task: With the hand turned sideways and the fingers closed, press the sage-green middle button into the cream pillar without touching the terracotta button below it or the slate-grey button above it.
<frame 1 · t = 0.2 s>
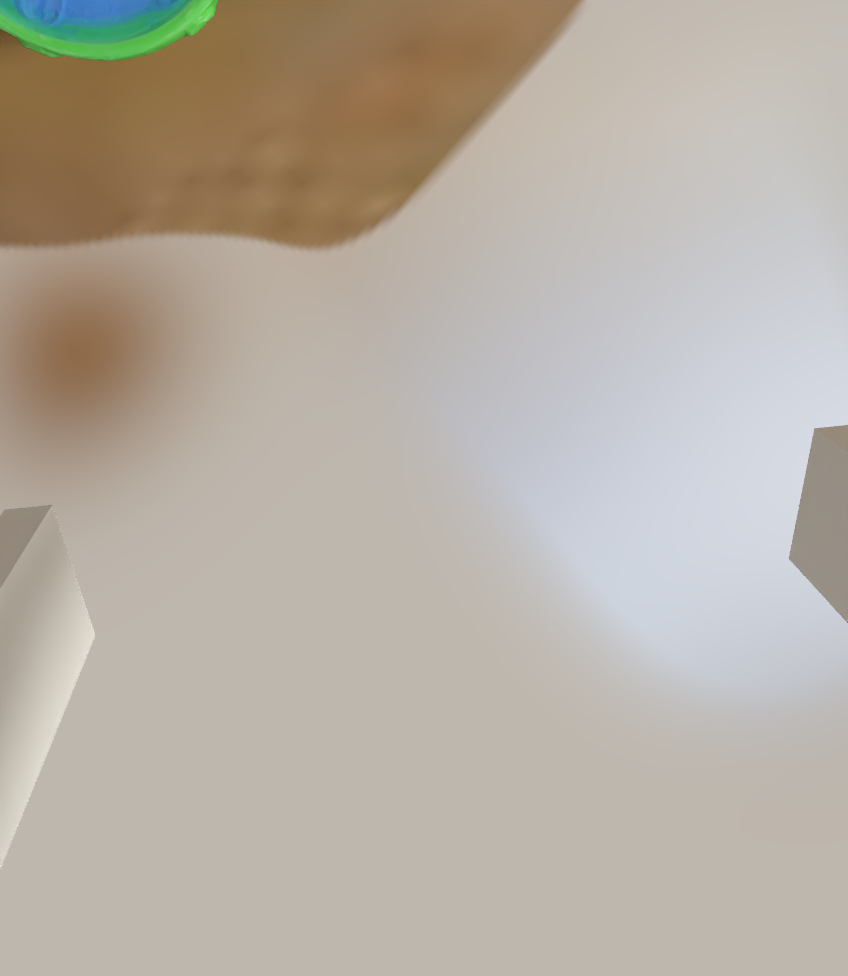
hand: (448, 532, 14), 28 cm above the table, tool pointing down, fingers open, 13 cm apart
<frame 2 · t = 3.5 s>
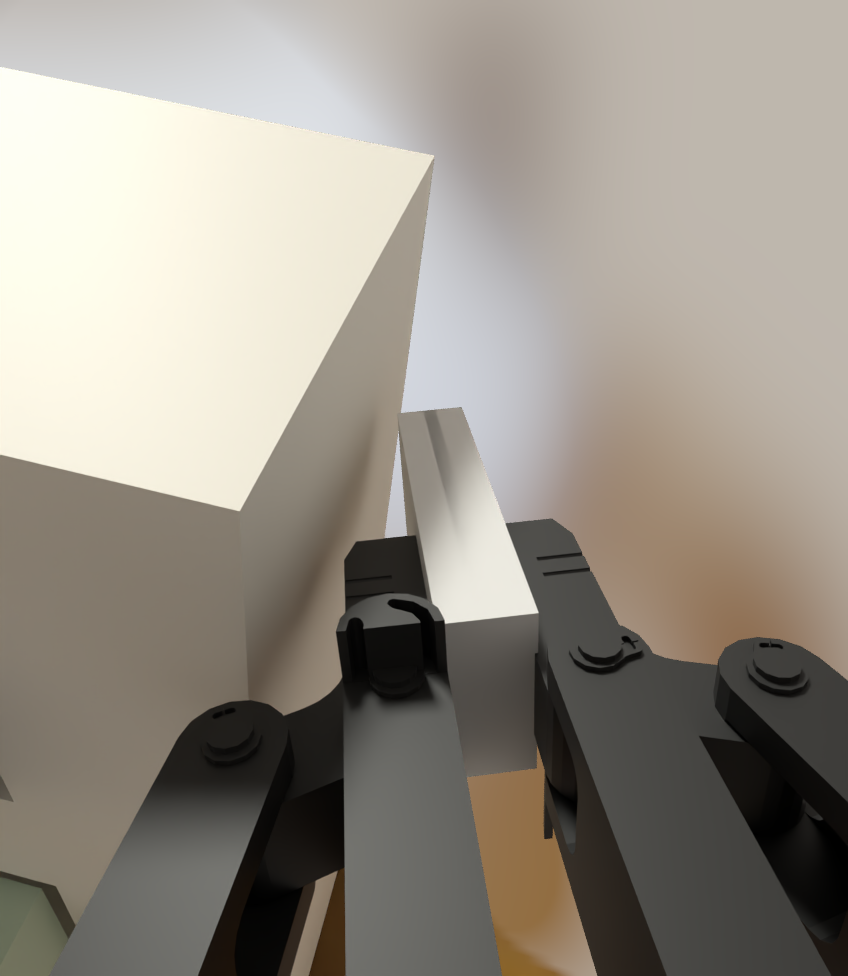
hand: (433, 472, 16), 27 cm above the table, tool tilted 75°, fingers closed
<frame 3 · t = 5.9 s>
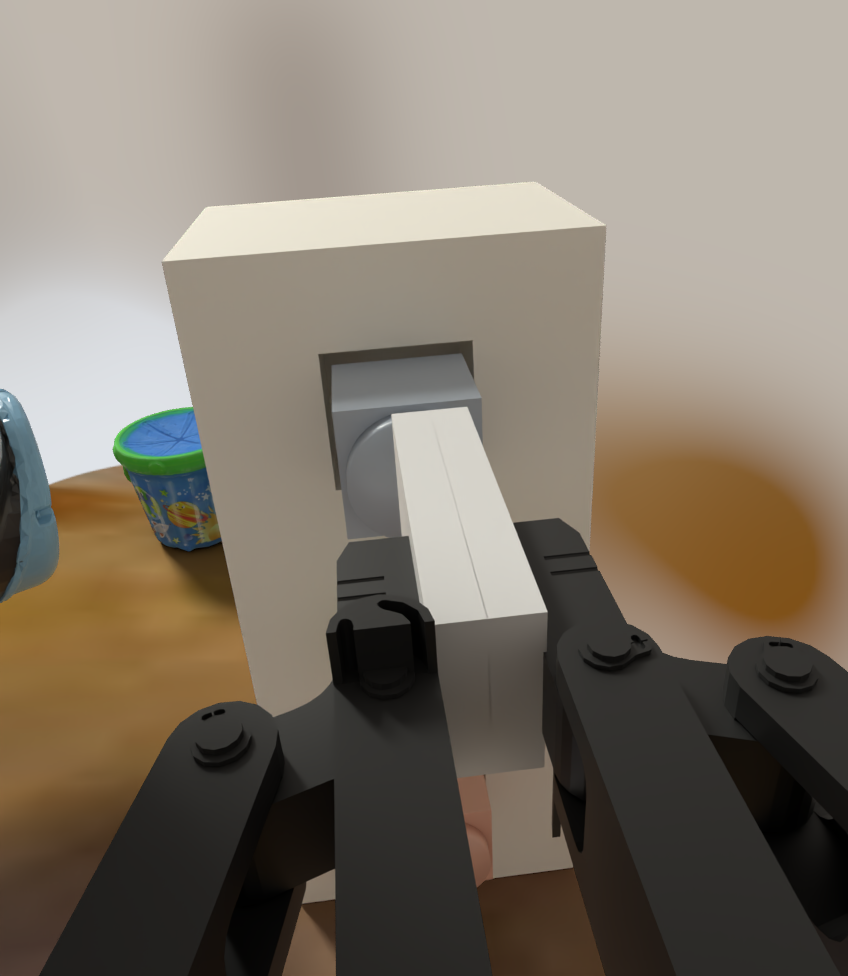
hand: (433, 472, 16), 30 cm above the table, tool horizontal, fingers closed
button pillar: (438, 885, 40), on the table
slate button: (407, 448, 26), point 26 cm above the table, slide at -0.1 cm
terracotta button: (435, 820, 34), point 8 cm above the table, slide at 0.0 cm
snack cup: (201, 533, 72), on the table
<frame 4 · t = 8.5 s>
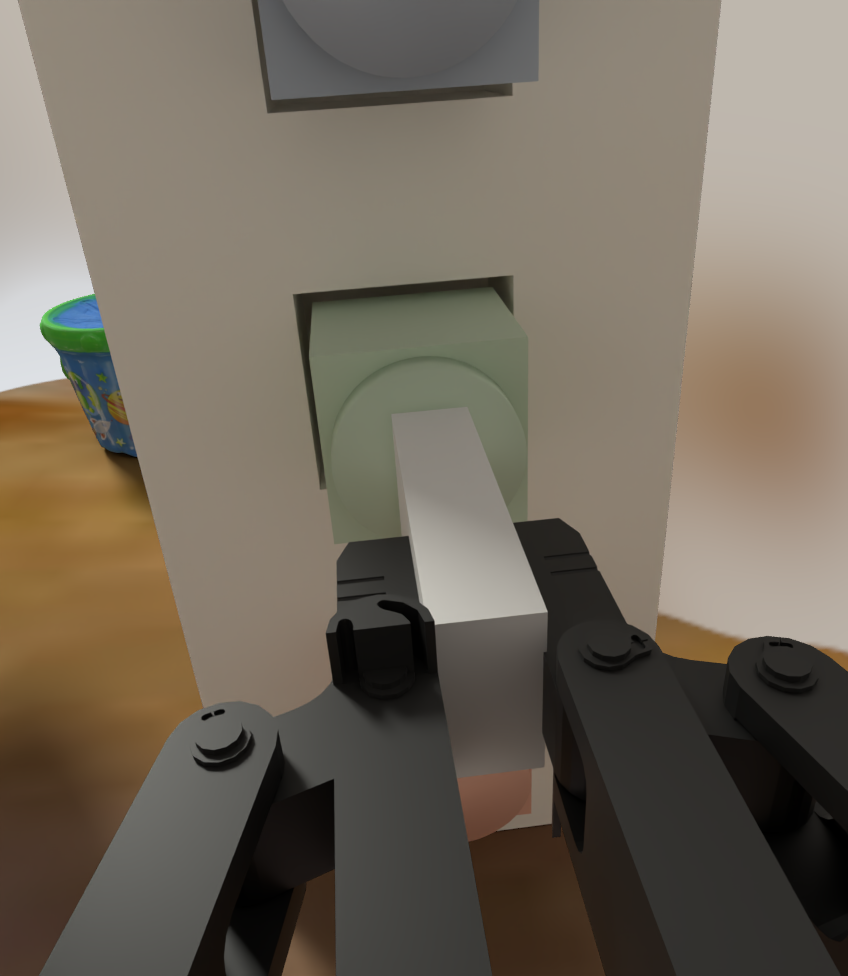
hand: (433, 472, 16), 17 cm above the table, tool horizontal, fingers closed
button pillar: (443, 837, 28), on the table
terracotta button: (441, 722, 22), point 8 cm above the table, slide at 0.0 cm
sage button: (418, 416, 18), point 17 cm above the table, slide at 0.6 cm, touching gripper
snack cup: (154, 440, 60), on the table
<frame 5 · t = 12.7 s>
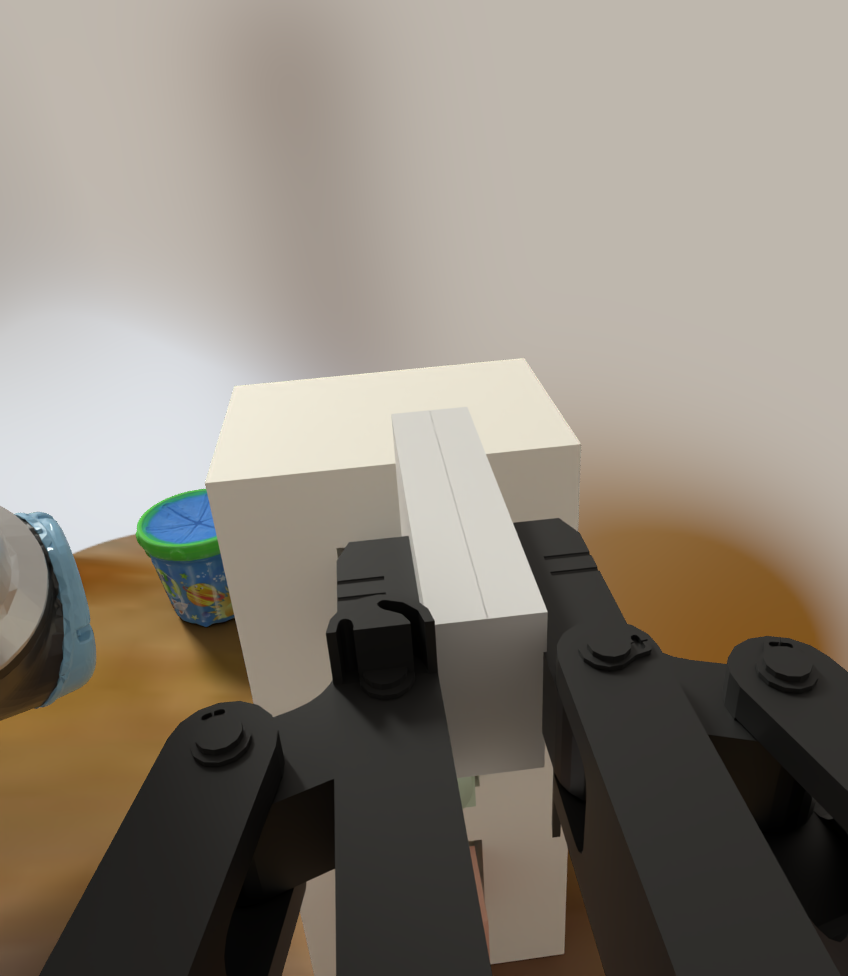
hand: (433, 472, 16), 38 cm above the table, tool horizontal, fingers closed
button pillar: (441, 971, 45), on the table
terracotta button: (439, 924, 39), point 8 cm above the table, slide at 0.0 cm
sage button: (421, 751, 37), point 17 cm above the table, slide at 2.6 cm
snack cup: (217, 606, 77), on the table
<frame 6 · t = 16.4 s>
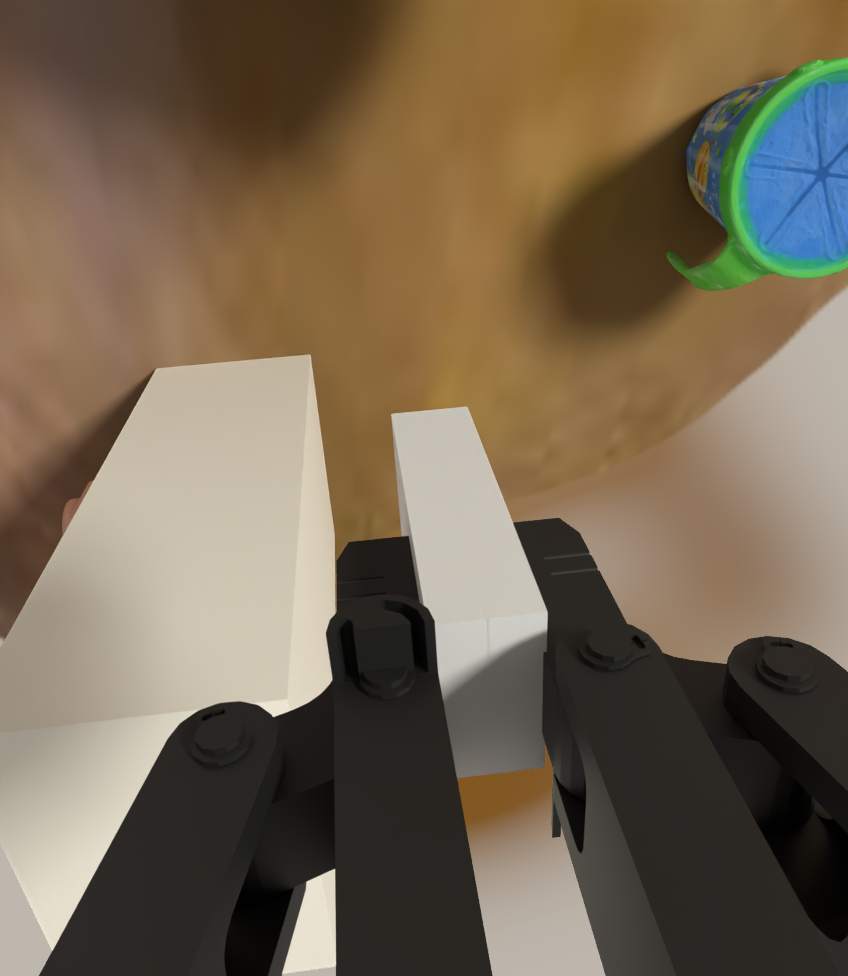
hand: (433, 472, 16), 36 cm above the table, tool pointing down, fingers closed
button pillar: (178, 464, 55), on the table
terracotta button: (116, 527, 48), point 8 cm above the table, slide at 0.0 cm
snack cup: (739, 153, 49), on the table
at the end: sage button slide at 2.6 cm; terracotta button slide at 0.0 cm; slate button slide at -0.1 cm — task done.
